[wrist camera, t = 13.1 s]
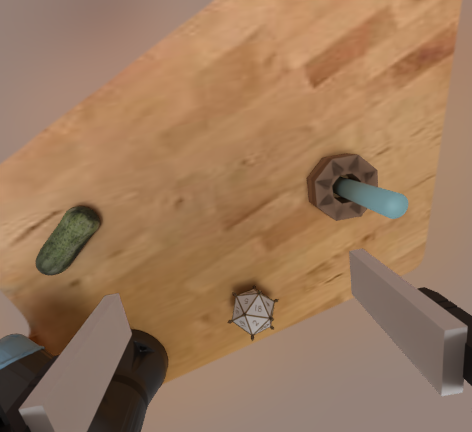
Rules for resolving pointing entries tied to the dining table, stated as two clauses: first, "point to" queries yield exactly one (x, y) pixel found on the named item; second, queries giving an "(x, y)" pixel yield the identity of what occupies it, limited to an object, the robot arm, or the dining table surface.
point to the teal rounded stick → (372, 197)
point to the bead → (326, 177)
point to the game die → (253, 311)
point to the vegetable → (67, 240)
